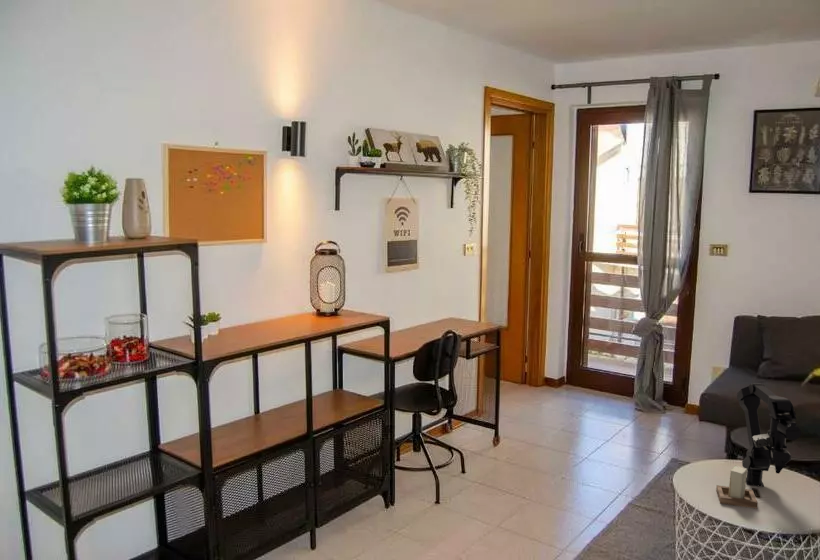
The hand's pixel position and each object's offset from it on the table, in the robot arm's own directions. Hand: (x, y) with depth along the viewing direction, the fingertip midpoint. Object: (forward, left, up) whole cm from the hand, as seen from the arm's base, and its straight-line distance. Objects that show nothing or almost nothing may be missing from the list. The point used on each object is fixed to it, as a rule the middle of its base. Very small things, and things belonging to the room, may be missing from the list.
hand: (774, 468), depth 256 cm
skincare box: (+4, -13, -13) cm, 19 cm away
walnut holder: (+4, -13, -13) cm, 19 cm away
